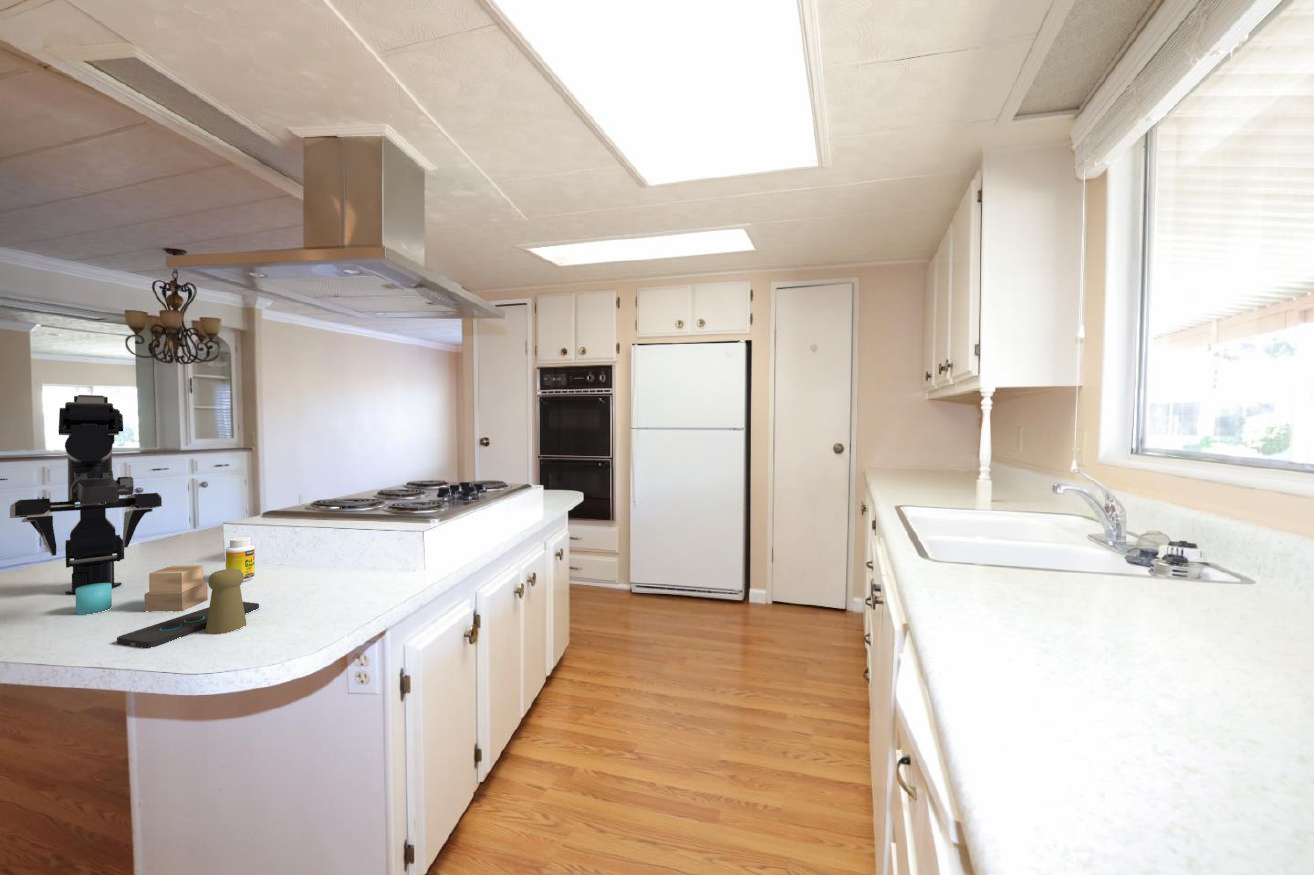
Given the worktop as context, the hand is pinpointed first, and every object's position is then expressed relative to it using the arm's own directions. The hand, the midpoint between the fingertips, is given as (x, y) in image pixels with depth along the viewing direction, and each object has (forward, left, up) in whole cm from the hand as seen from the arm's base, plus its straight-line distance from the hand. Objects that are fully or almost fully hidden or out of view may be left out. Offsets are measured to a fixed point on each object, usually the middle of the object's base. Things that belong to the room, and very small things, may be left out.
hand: (91, 551), depth 98 cm
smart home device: (-1, +17, -15) cm, 23 cm away
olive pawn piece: (+1, +24, -15) cm, 28 cm away
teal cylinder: (-10, -8, -15) cm, 19 cm away
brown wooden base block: (-12, +6, -15) cm, 20 cm away
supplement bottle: (-30, +7, -15) cm, 34 cm away
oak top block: (-12, +6, -11) cm, 17 cm away
